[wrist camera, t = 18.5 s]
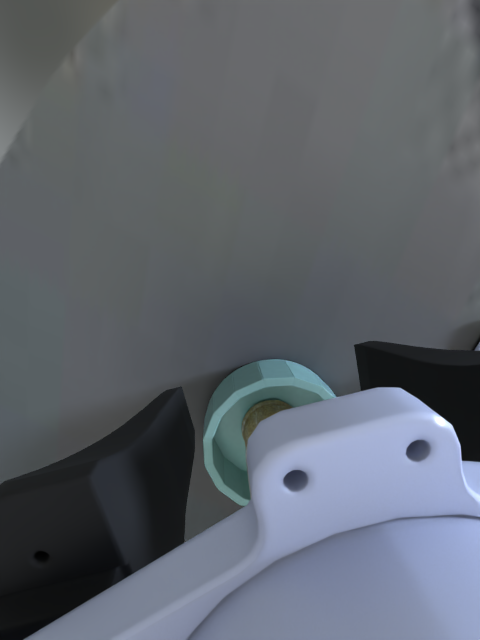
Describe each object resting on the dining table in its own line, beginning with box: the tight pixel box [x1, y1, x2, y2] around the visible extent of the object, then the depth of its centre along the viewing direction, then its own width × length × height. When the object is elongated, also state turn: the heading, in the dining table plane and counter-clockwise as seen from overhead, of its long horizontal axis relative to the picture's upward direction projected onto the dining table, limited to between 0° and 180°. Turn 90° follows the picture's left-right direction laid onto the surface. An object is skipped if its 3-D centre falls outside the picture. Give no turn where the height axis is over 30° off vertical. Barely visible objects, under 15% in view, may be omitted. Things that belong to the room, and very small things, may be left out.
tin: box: [203, 359, 336, 506], centre depth 23 cm, size 10×10×4 cm
